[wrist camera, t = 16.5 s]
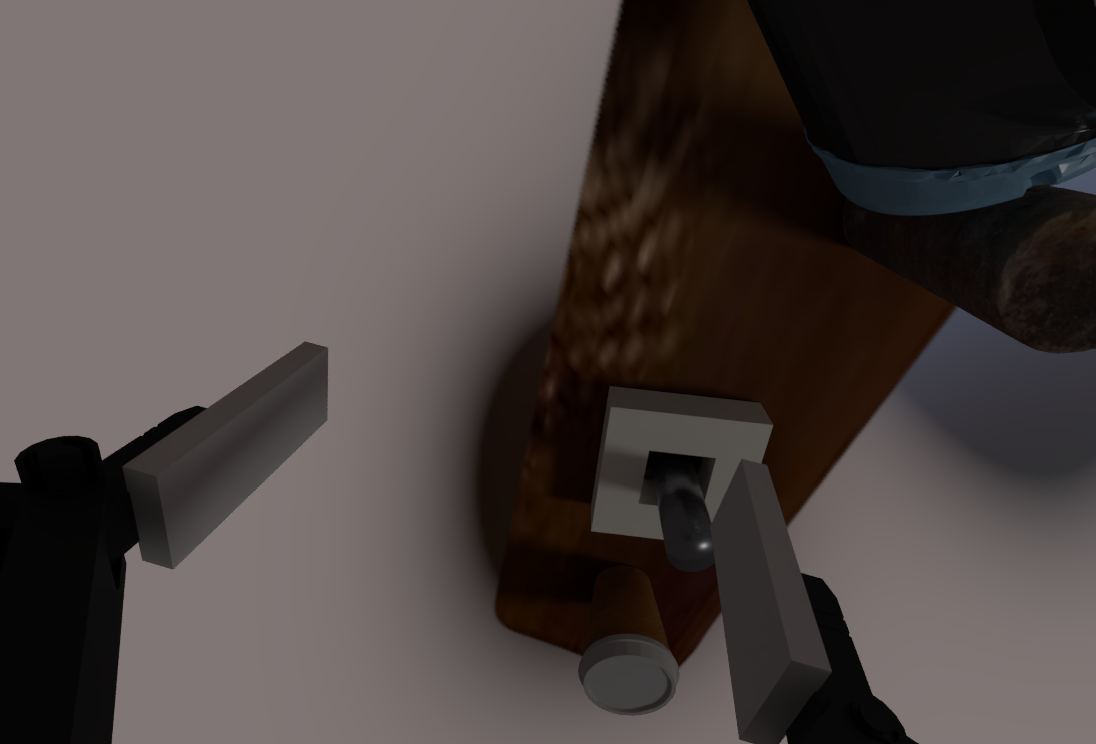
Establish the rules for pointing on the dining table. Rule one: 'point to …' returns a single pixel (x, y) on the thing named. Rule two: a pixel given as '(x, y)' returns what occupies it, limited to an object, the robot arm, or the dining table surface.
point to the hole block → (672, 428)
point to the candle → (999, 262)
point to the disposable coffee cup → (627, 646)
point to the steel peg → (682, 512)
